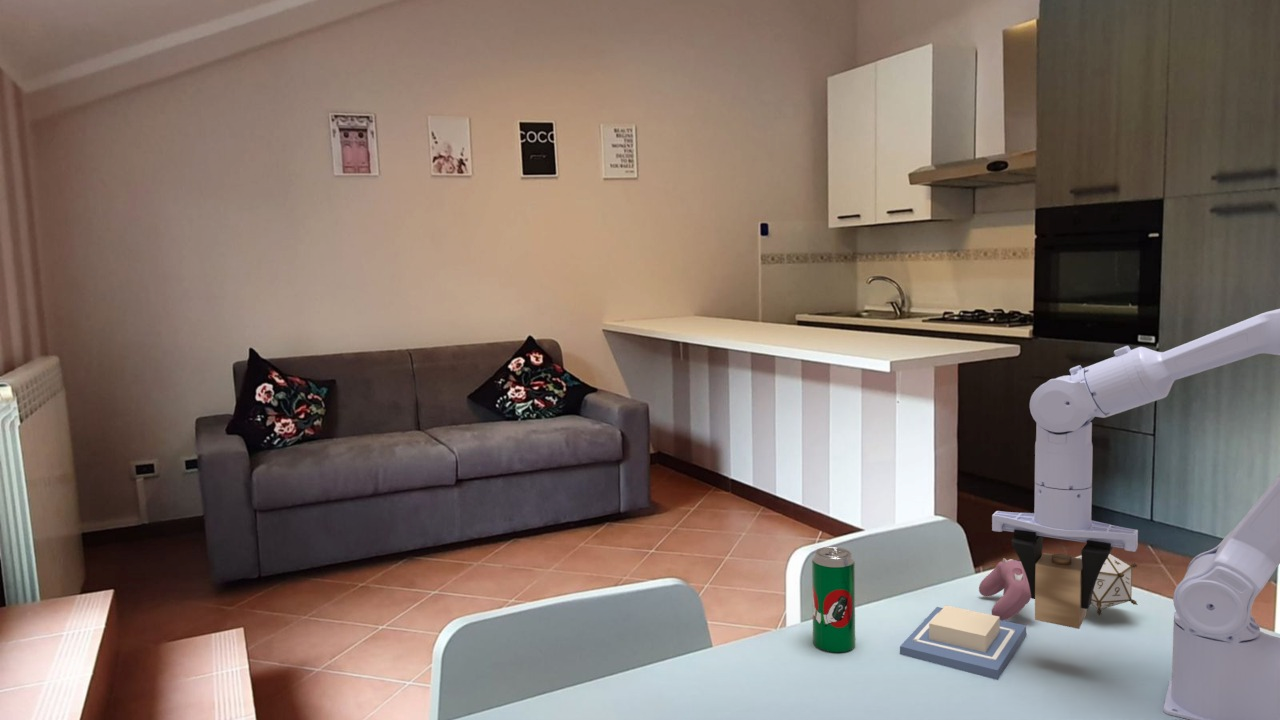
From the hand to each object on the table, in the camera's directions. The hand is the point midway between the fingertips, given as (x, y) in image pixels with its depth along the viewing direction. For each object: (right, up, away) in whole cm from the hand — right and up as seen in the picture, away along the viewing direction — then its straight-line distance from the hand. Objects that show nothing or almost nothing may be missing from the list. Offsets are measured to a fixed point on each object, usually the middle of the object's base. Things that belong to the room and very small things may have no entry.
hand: (1060, 600), depth 94 cm
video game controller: (0, -6, +17) cm, 18 cm away
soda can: (-24, -8, +8) cm, 26 cm away
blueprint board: (-8, -8, +7) cm, 13 cm away
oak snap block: (0, -2, 0) cm, 2 cm away
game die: (+12, -6, +14) cm, 20 cm away
